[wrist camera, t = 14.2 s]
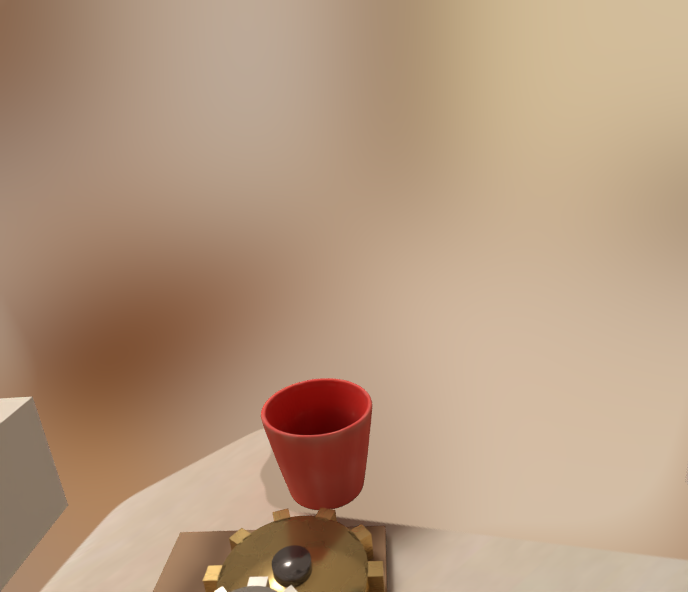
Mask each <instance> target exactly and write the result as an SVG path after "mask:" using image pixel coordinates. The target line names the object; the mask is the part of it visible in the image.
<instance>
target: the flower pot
mask: <svg viewBox="0 0 688 592" xmlns="http://www.w3.org/2000/svg"><path fill="white" fill-rule="evenodd" d="M371 414H372V401H371V398H370V396H369V394H368V393H367V392H366V391H365V390H364V389H363V388H362V387H360V386H358V385H357V384H354V383H352V382H349V381H345V380H340V379H329V378H328V379H313V380H307V381H302V382H299V383H296V384H292V385H290V386H288V387H285V388H284V389H282V390H280V391H278V392H277V393H275V394H274V395H272V396H271V397H270V398H269V399H268V400H267V401H266V403H265V404H264V406H263V408H262V411H261V419H262V423H263V426H264V429H265V432H266V434H267V437H268V439H269V442H270V445H271V447H272V450H273V452H274V455H275V458H276V460H277V462H278V465H279V467H280V470H281V472H282V475H283V477H284V479H285V482H286V484H287V486H288V488H289V491H290V493H291V495H292V497H293V499H294V500H295V501H296V502H297V503H298V504H300V505H301V506H304V507H306V508H309V509H313V510H319V509H320V508H321V507H322V508H327V509H335V508H339V507H342V506H344V505H346V504H348V503H350V502H351V501H352V500H354V499H355V498H356V497H357V496H358V495H359V493H360V492H361V490H362V488H363V484H364V478H365V470H366V462H367V455H368V445H369V434H370V425H371Z"/></svg>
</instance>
